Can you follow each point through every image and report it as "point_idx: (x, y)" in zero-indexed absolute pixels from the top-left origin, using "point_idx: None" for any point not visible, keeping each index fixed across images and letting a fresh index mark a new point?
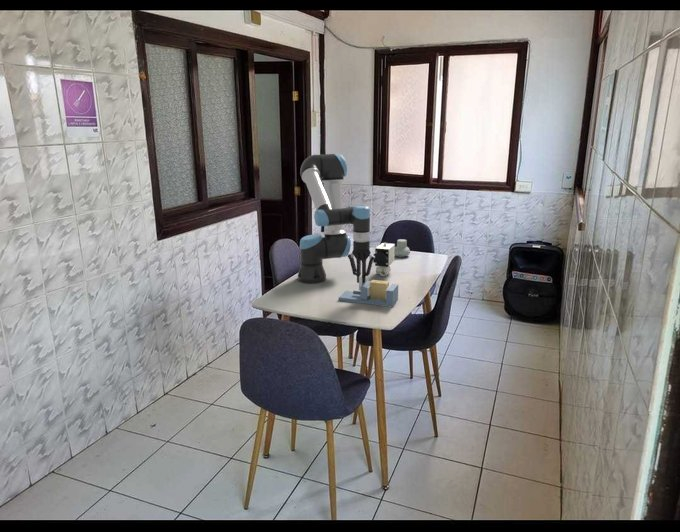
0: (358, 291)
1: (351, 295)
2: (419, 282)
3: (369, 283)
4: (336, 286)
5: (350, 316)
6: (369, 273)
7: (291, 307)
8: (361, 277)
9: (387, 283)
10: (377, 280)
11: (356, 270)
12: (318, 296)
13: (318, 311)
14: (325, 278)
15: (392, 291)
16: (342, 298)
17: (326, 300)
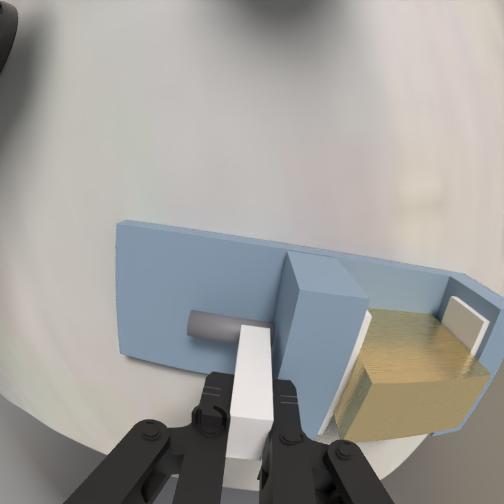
0: (229, 340)
1: (181, 317)
2: (500, 11)
3: (333, 372)
4: (55, 99)
5: (244, 475)
6: (357, 462)
7: (28, 400)
8: (254, 458)
9: (467, 410)
10: (417, 387)
11: (155, 461)
12: (27, 291)
13: (114, 442)
14: (9, 37)
15: (456, 428)
16: (144, 357)
17: (77, 344)
